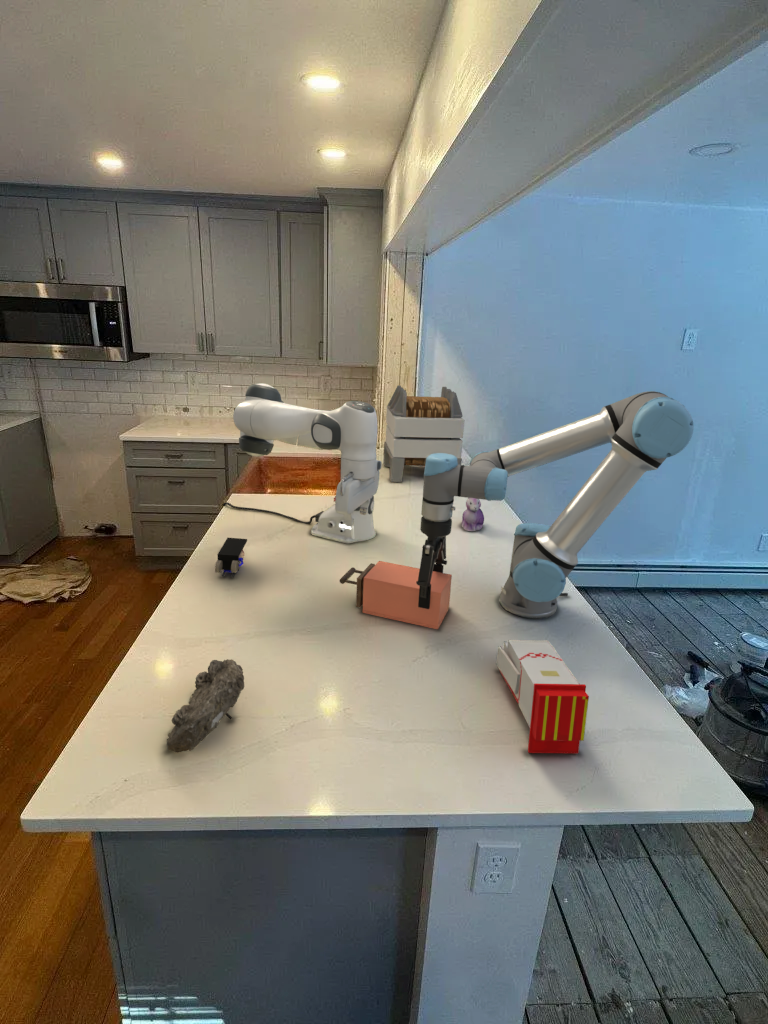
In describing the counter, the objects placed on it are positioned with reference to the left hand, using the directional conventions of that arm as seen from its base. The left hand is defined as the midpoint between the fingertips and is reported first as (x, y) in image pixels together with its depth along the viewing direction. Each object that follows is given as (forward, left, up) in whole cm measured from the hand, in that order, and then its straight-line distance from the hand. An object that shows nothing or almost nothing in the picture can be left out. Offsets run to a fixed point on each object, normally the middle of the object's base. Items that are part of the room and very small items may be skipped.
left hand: (356, 519), depth 146 cm
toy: (+48, -29, -23) cm, 61 cm away
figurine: (+23, +67, -23) cm, 74 cm away
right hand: (+21, -2, -18) cm, 27 cm away
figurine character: (-40, +4, -23) cm, 46 cm away
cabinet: (+15, -1, -23) cm, 27 cm away
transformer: (-11, +130, -23) cm, 133 cm away
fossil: (-10, -53, -23) cm, 59 cm away
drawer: (+9, -1, -22) cm, 24 cm away
